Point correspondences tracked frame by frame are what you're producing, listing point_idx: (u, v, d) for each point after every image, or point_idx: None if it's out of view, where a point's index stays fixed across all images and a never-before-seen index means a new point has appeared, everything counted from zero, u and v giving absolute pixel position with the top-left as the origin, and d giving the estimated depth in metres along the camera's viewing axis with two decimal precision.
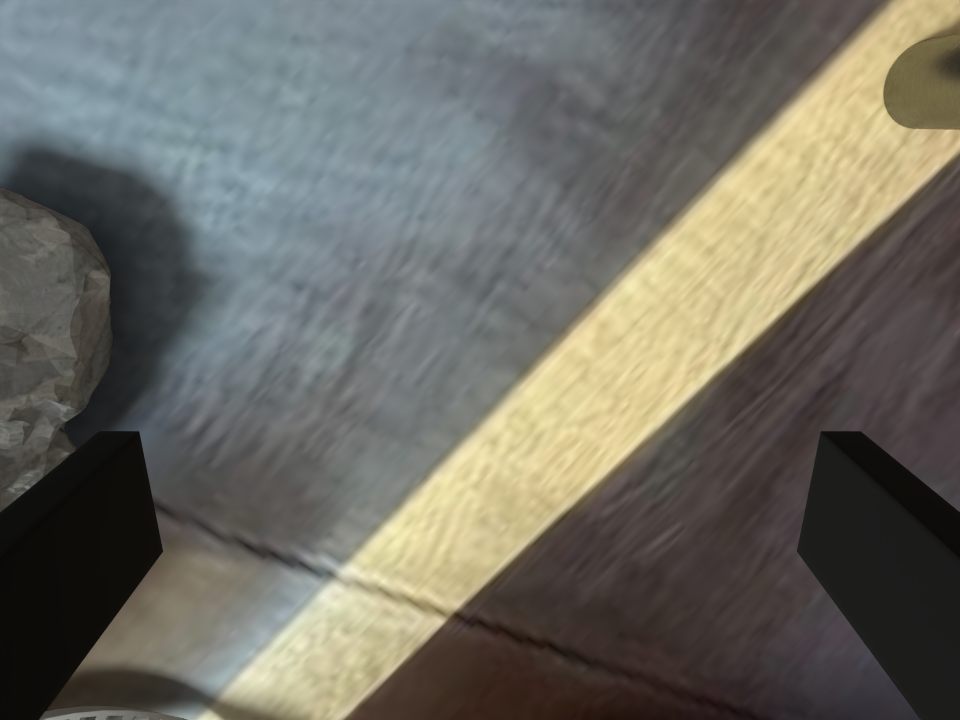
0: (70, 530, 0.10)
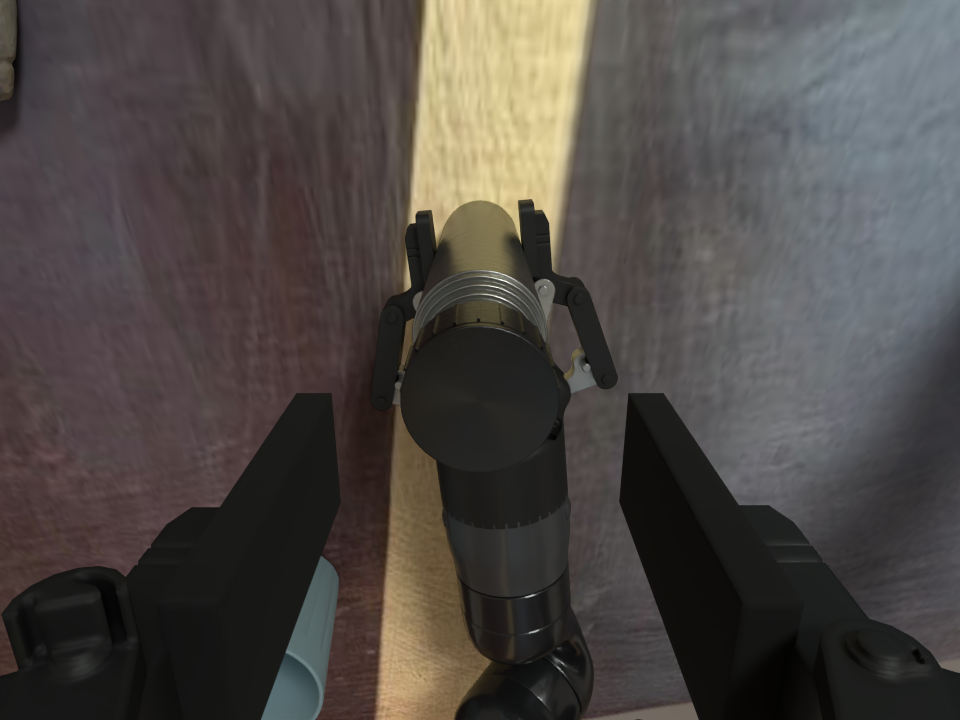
0: (306, 471, 0.12)
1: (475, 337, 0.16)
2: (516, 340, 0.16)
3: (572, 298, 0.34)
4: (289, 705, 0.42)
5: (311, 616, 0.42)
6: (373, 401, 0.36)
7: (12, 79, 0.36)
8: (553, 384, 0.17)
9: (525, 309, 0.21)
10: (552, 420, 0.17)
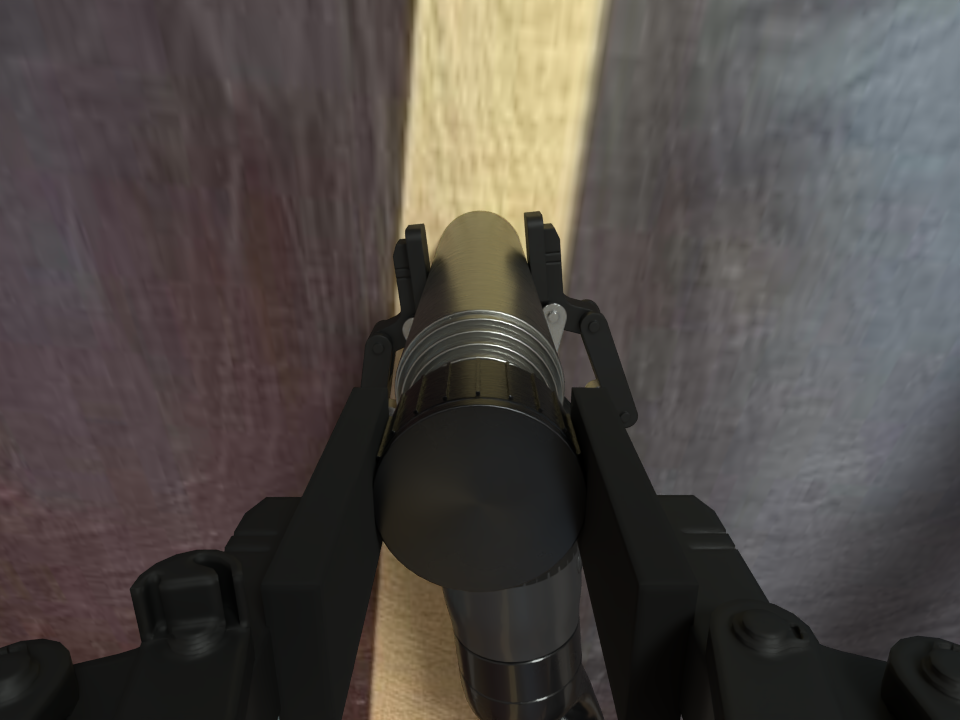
0: (371, 462, 0.12)
1: (473, 419, 0.12)
2: (530, 423, 0.12)
3: (586, 325, 0.29)
4: None
5: None
6: None
7: None
8: (580, 481, 0.12)
9: (537, 361, 0.16)
10: (577, 527, 0.13)
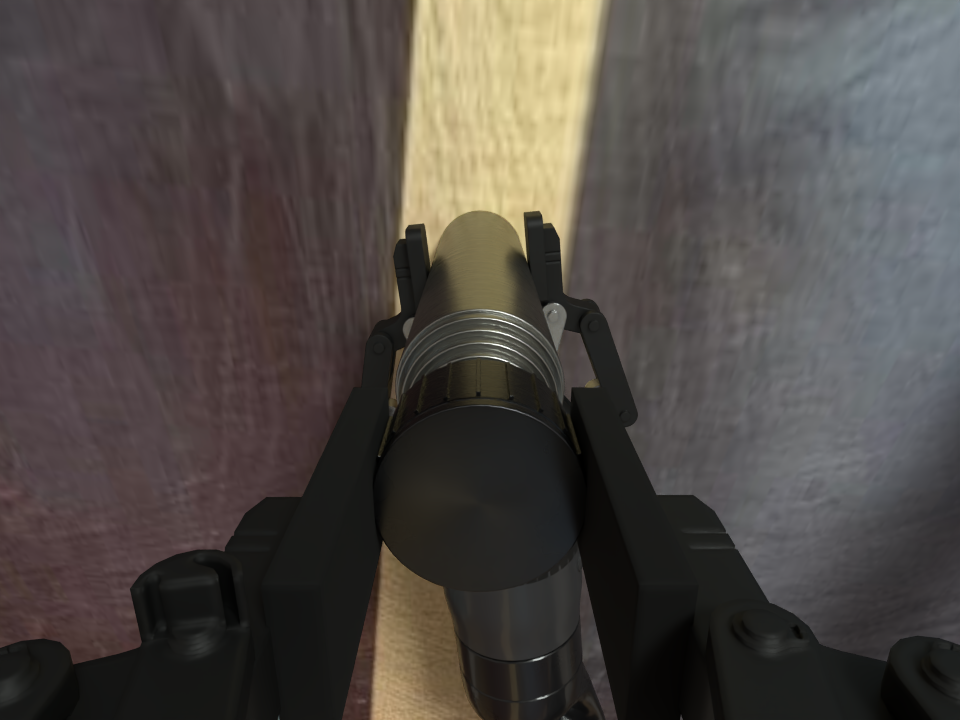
0: (372, 462, 0.12)
1: (386, 503, 0.12)
2: (392, 455, 0.12)
3: (586, 325, 0.29)
4: None
5: None
6: None
7: None
8: (459, 412, 0.12)
9: (537, 360, 0.16)
10: (516, 415, 0.12)
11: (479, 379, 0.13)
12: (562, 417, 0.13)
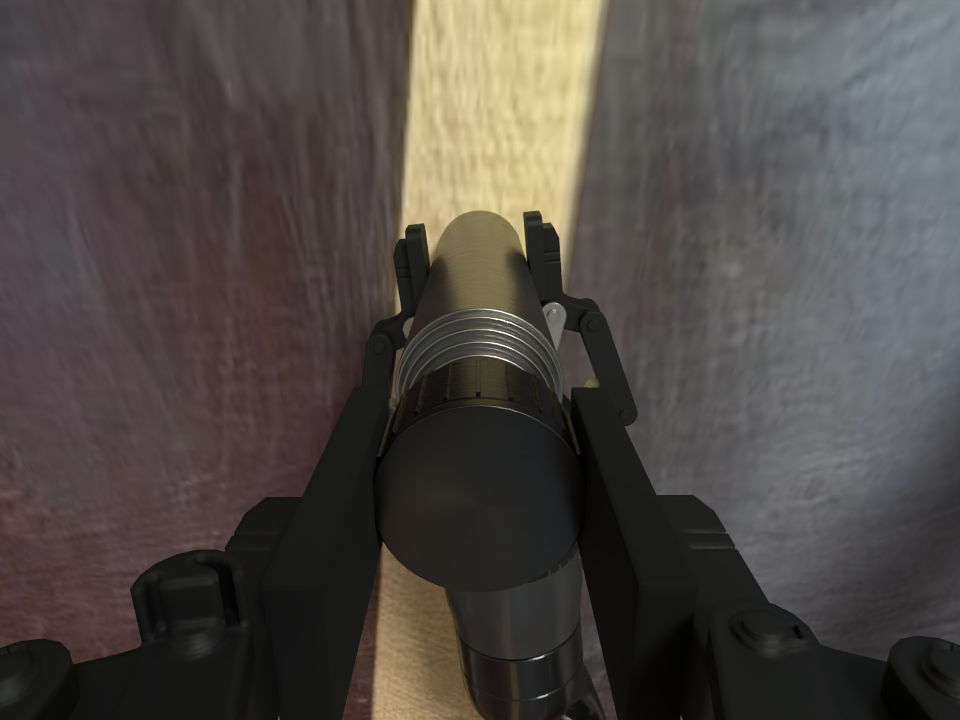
0: (372, 462, 0.12)
1: (471, 581, 0.13)
2: (420, 571, 0.13)
3: (586, 324, 0.29)
4: None
5: None
6: None
7: None
8: (377, 514, 0.12)
9: (537, 359, 0.16)
10: (383, 467, 0.12)
11: None
12: (416, 400, 0.13)
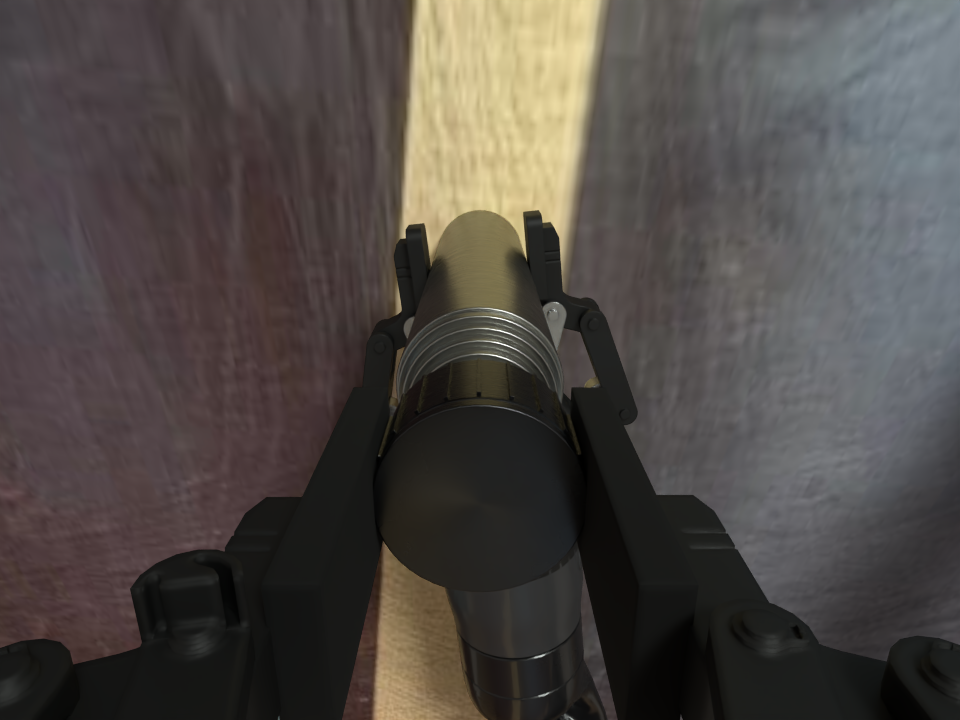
0: (372, 462, 0.12)
1: (571, 518, 0.12)
2: (553, 560, 0.13)
3: (586, 323, 0.29)
4: None
5: None
6: None
7: None
8: (483, 589, 0.13)
9: (537, 358, 0.16)
10: (433, 578, 0.13)
11: None
12: None
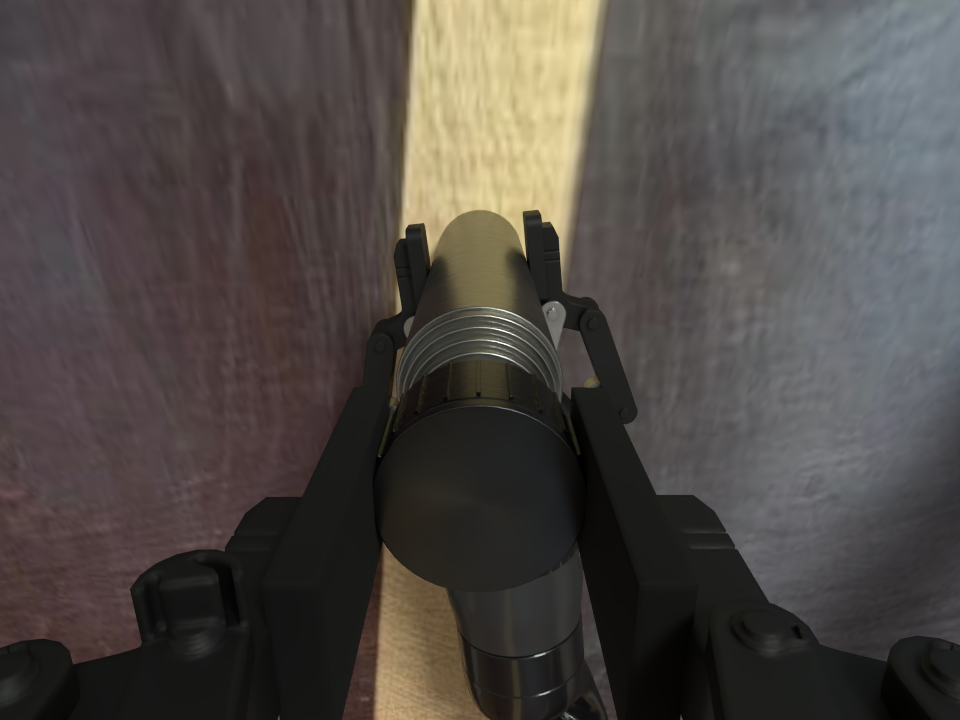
0: (372, 462, 0.12)
1: (503, 423, 0.12)
2: (555, 441, 0.12)
3: (585, 322, 0.29)
4: None
5: None
6: None
7: None
8: (582, 508, 0.12)
9: (536, 356, 0.17)
10: (563, 551, 0.13)
11: None
12: None
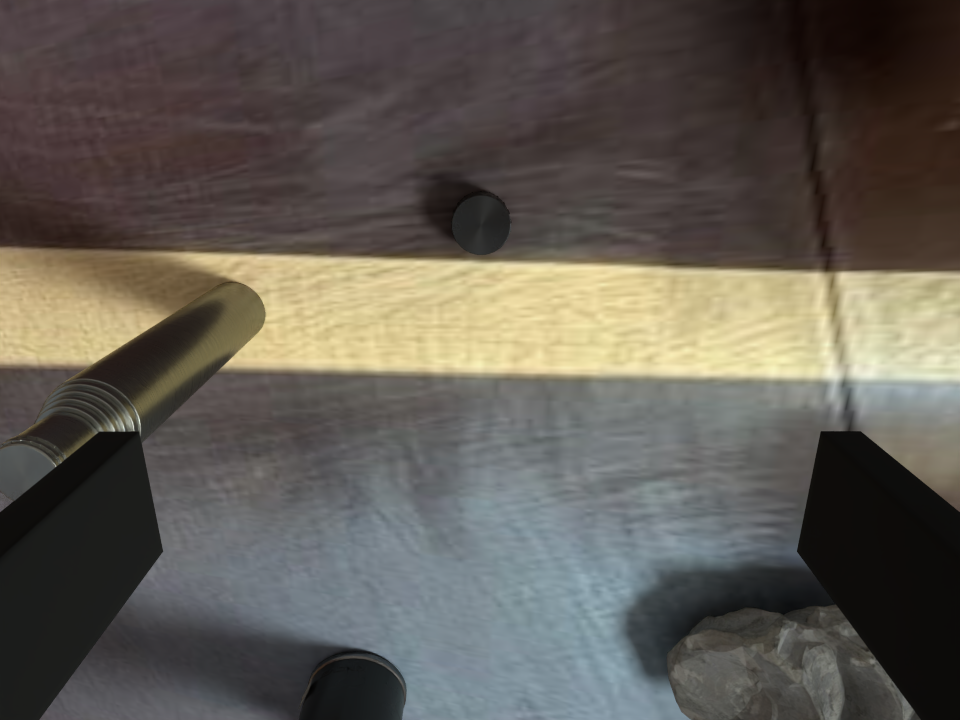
0: (70, 530, 0.10)
1: (457, 217, 0.45)
2: (463, 203, 0.45)
3: None
4: None
5: None
6: None
7: None
8: (484, 197, 0.45)
9: None
10: (498, 202, 0.45)
11: (490, 194, 0.46)
12: (508, 212, 0.46)
